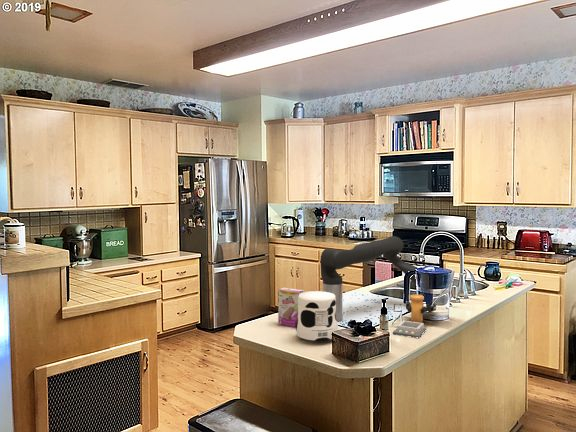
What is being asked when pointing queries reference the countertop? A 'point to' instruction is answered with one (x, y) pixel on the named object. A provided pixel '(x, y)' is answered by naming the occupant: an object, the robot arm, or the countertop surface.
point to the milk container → (316, 316)
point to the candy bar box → (288, 306)
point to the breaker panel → (410, 329)
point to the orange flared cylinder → (416, 308)
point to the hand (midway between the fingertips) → (415, 310)
